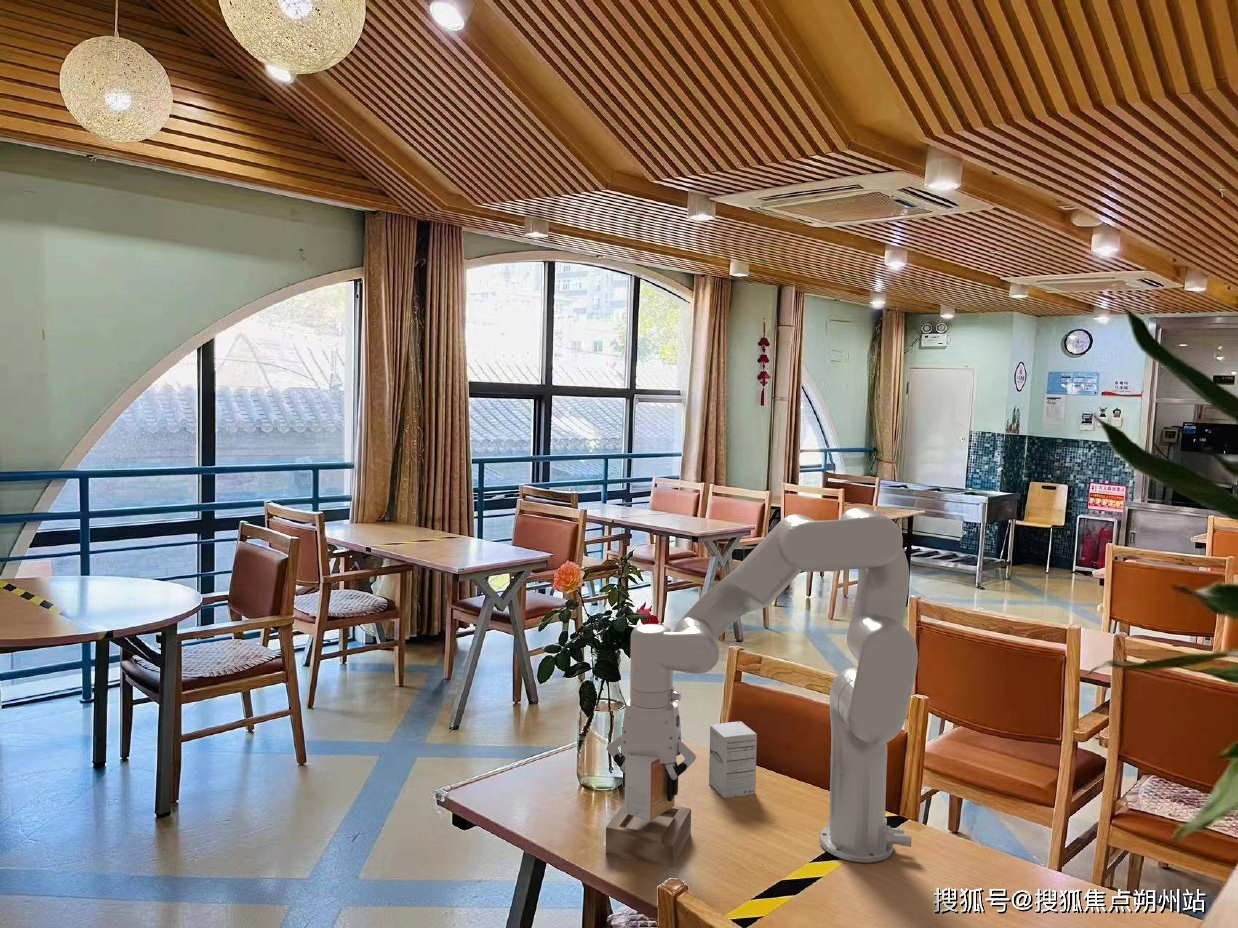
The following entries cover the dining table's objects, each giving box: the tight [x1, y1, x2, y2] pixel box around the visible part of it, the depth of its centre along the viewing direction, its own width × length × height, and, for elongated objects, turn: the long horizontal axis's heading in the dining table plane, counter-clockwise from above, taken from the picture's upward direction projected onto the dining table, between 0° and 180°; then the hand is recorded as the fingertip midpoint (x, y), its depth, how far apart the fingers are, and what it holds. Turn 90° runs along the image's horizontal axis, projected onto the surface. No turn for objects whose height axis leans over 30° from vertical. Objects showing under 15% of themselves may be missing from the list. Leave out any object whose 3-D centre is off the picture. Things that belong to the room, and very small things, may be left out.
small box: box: [624, 754, 676, 821], centre depth 158 cm, size 8×6×10 cm
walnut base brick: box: [605, 802, 692, 868], centre depth 159 cm, size 12×12×5 cm
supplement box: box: [708, 720, 758, 799], centre depth 181 cm, size 7×7×13 cm
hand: (650, 794), depth 158 cm, fingers closed on small box, 7 cm apart
